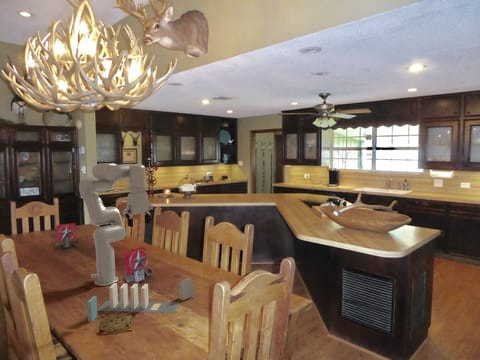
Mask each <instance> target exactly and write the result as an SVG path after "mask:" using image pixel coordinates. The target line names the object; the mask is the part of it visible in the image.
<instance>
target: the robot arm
mask: <svg viewBox="0 0 480 360" xmlns="http://www.w3.org/2000/svg"><path fill="white" fill-rule="evenodd" d="M145 167H146V166H145V165H143V164H136V163H130V164H129V163H128V164H127V163H126V164H123V163H122V164H117V163H114V162H111V163H110V162H105V163H97V164H95V165H94V166H93V167H92V169H91V174H92V175H93V177H92V176H91V177H87V178H86V177H85V178H84V179H82V180H81V181H80V182H79V183H78V184H79V185H78V188H79V189H78V190H79V194H80V196H81V198H82V200H83V201H84V203H85V205H86V209H87V212H88V214H89V217H90V218H89V219H90V221H91V223H92V225H94V226H100V227H96V228H95V230H94V231H93V232H92V237H93V242H94V247H95V258H96V259H95V261H96V262H95V263H96V273H90V279H91V280H93V279H94V280H93V281H94V282H93V284H94V285H96V286H99V287H105V286H111V285H112V284H114V283H117V282H118V281H119V276H117V275H116V263H115V262H116V261H115V249H114V247H113V246H112V245H111V243H114V242H117V241H121V240H123V239H125V238H126V233H127V232H126V227H125V224H124V221H123V218H122V216H121V213H122V214H123V216H124V217H125V218H126V219H127V221H126V222H127V227H130V228H133V227H134V219H133V217H134V215H139V214H143V213H144V214H145V215H144V223H145V224H150V222H151V219H150V216H151V214H152V213H153V210H154V207H155V206H154V205H153V204H150V203H149V202H150V201H149V195H148V192H147V190H148V187H147V182H146V179H147V178H146V168H145ZM124 180H129V181H128V183H129V193H128V194H127V200H126V207H124V209H122V210H121V212H120V210H119V209H118V208H117V207H116V206H105V205H104V203H103V200H102V198H101V197H100V196H99V195H98V194H96V193H101V192H108V191H111V190H112V189H113V188H114V186H115V184H116V182H117V181H124ZM109 224H110V225H109ZM102 225H103V226H102Z"/></svg>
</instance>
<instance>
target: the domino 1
mask: <svg viewBox="0 0 480 360" xmlns="http://www.w3.org/2000/svg"><path fill="white" fill-rule="evenodd" d="M86 305H87V322H89V323H92V322H93V321H94V320H95V319H96V318H97V317H98V314H99V313H98V311H97V310H98V299H97V295H94V296H92V297H90V298H89V299H88V300H87V302H86Z"/></svg>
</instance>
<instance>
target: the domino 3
mask: <svg viewBox="0 0 480 360" xmlns="http://www.w3.org/2000/svg"><path fill="white" fill-rule="evenodd" d="M128 287H129V286H128V283H125V282H124V283H123V284H122V285H121V286H120V287H119V301H120V307H121V309H124V308H125V307H126V306H127V305H128V301H129V288H128Z"/></svg>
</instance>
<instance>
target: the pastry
mask: <svg viewBox="0 0 480 360" xmlns="http://www.w3.org/2000/svg"><path fill="white" fill-rule="evenodd" d="M136 316H137V314H136V313H133V312H124V313H123V312H122V313H117V314H116V313H115V314H109V315H106V316H104V317H103V318H102V320H101V321H100V325H99V328H98V333H99V335H102V336H103V335H104V336H105V335H111V334H112V333H113V334H115V335H116V334H124V333H130V332H132V331H133V329H130V328H132V326H133V324H134V319H133V318H135V319H136Z"/></svg>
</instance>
